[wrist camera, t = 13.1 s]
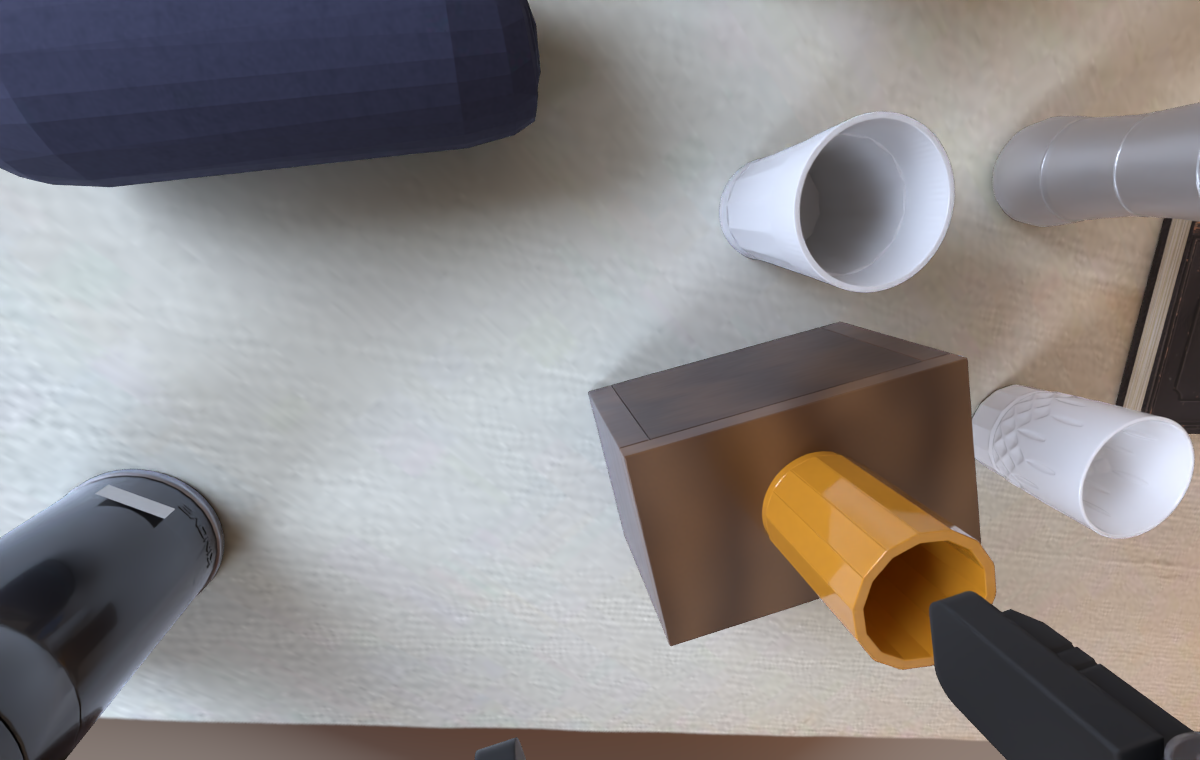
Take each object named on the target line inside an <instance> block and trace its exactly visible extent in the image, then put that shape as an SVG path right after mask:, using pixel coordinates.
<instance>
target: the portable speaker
mask: <svg viewBox="0 0 1200 760" xmlns="http://www.w3.org/2000/svg"><path fill="white" fill-rule="evenodd" d="M540 72H541V71H540V61H539V51H538V41H537V31H536V24H535V21H534V18H533V15H532V12H531V10H530V7H529V4H528V1H527V0H0V168H1V169H4V170H6V171H8V172H10V173H13V174H15V175H17V176H19V177H23V178H27V179H31V180H35V181H39V182H44V183H48V184H53V185H75V186H99V187H116V186H125V185H134V184H143V183H152V182H162V181H171V180H180V179H189V178H198V177H207V176H217V175H226V174H235V173H244V172H253V171H262V170H271V169H281V168H290V167H299V166H308V165H317V164H326V163H336V162H345V161H354V160H363V159H372V158H381V157H390V156H400V155H409V154H418V153H427V152H436V151H445V150H455V149H464V148H470V147H473V146H477V145H480V144H484V143H487V142H491V141H494V140H498V139H502V138H505V137H509V136H512V135H515V134H517V133H518V132H520V131H521V130H522V129H524V128H525V127H527V126H528V125H530V124H531V123H533V122H534V121H535V117H536V111H537V101H538V82H539V76H540Z"/></svg>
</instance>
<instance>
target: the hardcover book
mask: <svg viewBox="0 0 1200 760" xmlns="http://www.w3.org/2000/svg"><path fill="white" fill-rule="evenodd" d="M1116 405H1117V406H1121V407H1125V408H1129V409H1133V410H1137V411H1141V412H1145V413H1149V414H1153V415H1157V416H1161V417H1165V418H1168V419H1171V420H1173V421H1175V422H1177V423H1178V424H1179V425H1181V426H1182V427H1183V428H1184V429H1185V431H1186V432H1187V433H1188V434H1200V222H1198V221H1191V220H1184V219H1175V218H1165V220H1164V222H1163V226H1162V229H1161V233H1160V237H1159V241H1158V245H1157V249H1156V252H1155V256H1154V260H1153V264H1152V268H1151V272H1150V276H1149V279H1148V283H1147V287H1146V291H1145V295H1144V299H1143V303H1142V306H1141V310H1140V314H1139V318H1138V322H1137V326H1136V329H1135V333H1134V337H1133V341H1132V345H1131V349H1130V353H1129V356H1128V360H1127V364H1126V368H1125V372H1124V376H1123V380H1122V383H1121V387H1120V391H1119V395H1118V399H1117V403H1116Z"/></svg>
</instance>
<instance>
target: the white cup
mask: <svg viewBox="0 0 1200 760" xmlns="http://www.w3.org/2000/svg"><path fill="white" fill-rule="evenodd" d="M972 428H973V441H974V455H975V459H977V460H978V461H979V462H981V463H982V464H983V465H984V466H986V467H987V468H988V469H990V470H992V471H994V472H995V473H997V474H999V475H1001V476H1003V477H1004V478H1005V479H1006V480H1007V481H1009V482H1010V483H1012V484H1014V485H1015V486H1017V487H1019V488H1021V489H1022V490H1024V491H1025V492H1027V493H1029V494H1030V495H1032V496H1034V497H1036V498H1037V499H1038V500H1040V501H1042V502H1043V503H1045V504H1047V505H1049V506H1051V507H1052V508H1054V509H1056V510H1058V511H1059V512H1061V513H1063V514H1065V515H1066V516H1068V517H1070V518H1072V519H1073V520H1075V521H1077V522H1079V523H1081V524H1082V525H1084V526H1086V527H1087V528H1089V529H1091V530H1093V531H1094V532H1096V533H1098V534H1100V535H1102V536H1104V537H1108V538H1113V539H1126V538H1131V537H1135V536H1138V535H1141V534H1143V533H1146V532H1148V531H1150V530H1151V529H1153V528H1155V527H1156V526H1158V525H1159V524H1160V523H1162V522H1163V521H1164V520H1165V519H1166V518H1167V517H1168V516H1169V515H1170V514H1171V513H1172V512H1173V511H1174V510H1175V509H1176V507H1177V506H1178V505H1179V503H1180V502H1181V500H1182V499H1183V497H1184V495H1185V494H1186V492H1187V490H1188V487H1189V485H1190V482H1191V479H1192V476H1193V471H1194V463H1195V455H1194V448H1193V444H1192V441H1191V439H1190V437H1189V435H1188V433H1187V432H1186V431H1185V429H1184V428H1183V427H1182V426H1181V425H1179V424H1178V423H1177V422H1175V421H1173V420H1171V419H1168V418H1165V417H1161V416H1157V415H1153V414H1149V413H1145V412H1141V411H1137V410H1133V409H1129V408H1125V407H1121V406H1117V405H1113V404H1109V403H1105V402H1101V401H1097V400H1091V399H1087V398H1083V397H1079V396H1075V395H1069V394H1065V393H1061V392H1056V391H1053V392H1050V391H1046V390H1042V389H1038V388H1034V387H1029V386H1023V385H1016V384H1014V385H1011V386H1008V387H1005V388H1002V389H999V390H996V391H995V392H994V393H992V394H991V395H990V396H989V397H988V398H987V399H985V400H984V401H983V402H982V403H981V404H980V405H979V407H978V409H977V411H976V413H975V415H974V416H973V418H972Z"/></svg>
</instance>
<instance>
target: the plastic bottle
mask: <svg viewBox="0 0 1200 760" xmlns="http://www.w3.org/2000/svg"><path fill="white" fill-rule="evenodd" d="M992 185H993V192H994V195H995V198H996V200H997V202H998V203H999V205H1000V206H1001V208H1002V209H1003V210H1004V212H1005V213H1006V214H1007V215H1008V216H1009V217H1011V218H1013V219H1014V220H1016V221H1019V222H1022V223H1026V224H1030V225H1035V226H1040V227H1050V226H1058V225H1065V224H1071V223H1076V222H1080V221H1084V220H1092V219H1103V218H1115V217H1127V216H1137V217H1156V218H1175V219H1184V220H1191V221H1198V222H1200V102H1198V103H1194V104H1190V105H1185V106H1180V107H1175V108H1170V109H1166V110H1162V111H1156V112H1151V113H1146V114H1139V115H1125V116H1111V117H1087V116H1057V117H1051V118H1048V119H1045V120H1043V121H1040V122H1038V123H1035V124H1032V125H1030V126H1027V127H1025V128H1023V129H1022V130H1020V131H1019V132H1017V133H1016V134H1015V135H1014V136H1013V137H1012V138H1011V139H1010V140H1009V142H1008V143H1007V144H1006V145H1005V147H1004V148H1003V149H1002V151H1001V152H1000V154H999V156H998V158H997V160H996V163H995V166H994V170H993V176H992Z"/></svg>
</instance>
